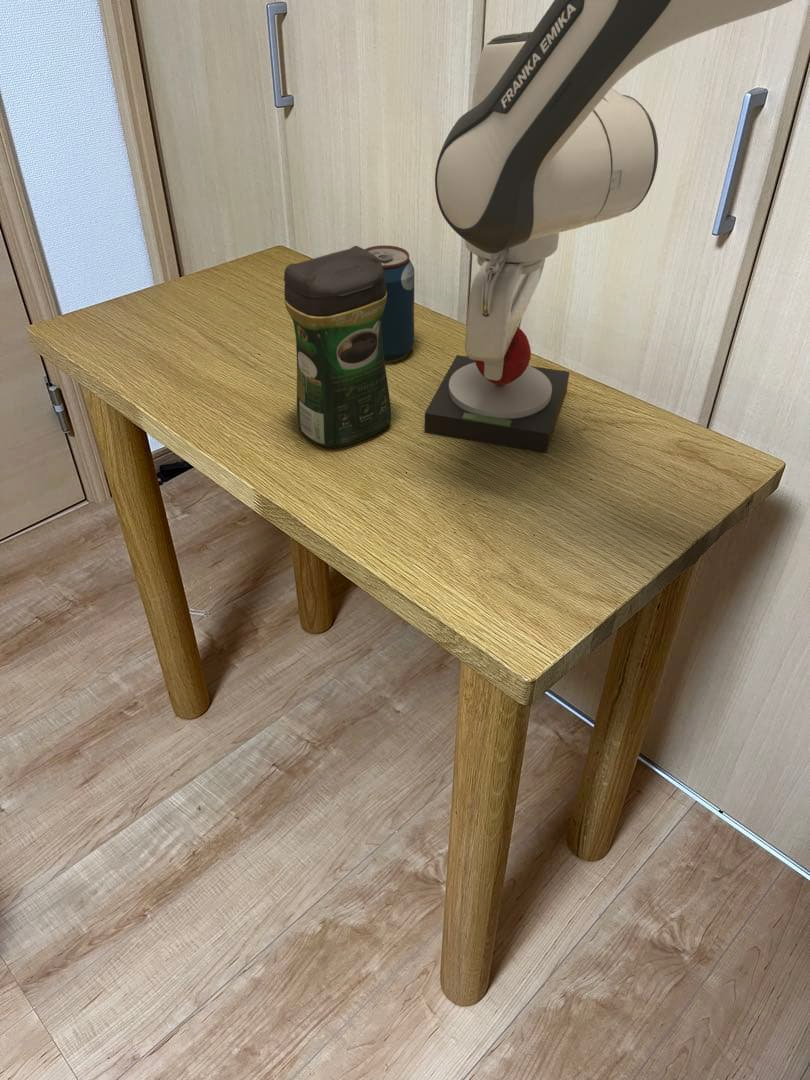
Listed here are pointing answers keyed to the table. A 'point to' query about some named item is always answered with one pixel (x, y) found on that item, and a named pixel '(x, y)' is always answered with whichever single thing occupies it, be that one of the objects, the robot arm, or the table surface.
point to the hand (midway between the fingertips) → (501, 359)
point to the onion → (512, 359)
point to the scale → (498, 406)
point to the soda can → (397, 301)
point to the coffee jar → (339, 346)
